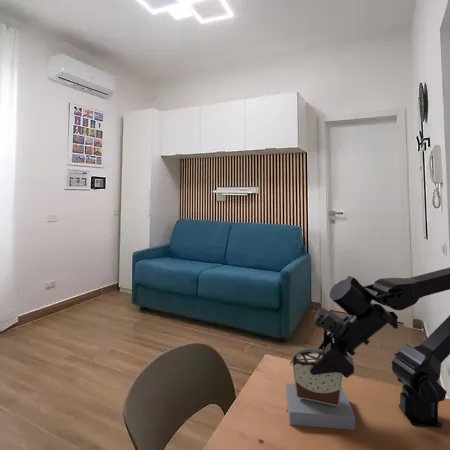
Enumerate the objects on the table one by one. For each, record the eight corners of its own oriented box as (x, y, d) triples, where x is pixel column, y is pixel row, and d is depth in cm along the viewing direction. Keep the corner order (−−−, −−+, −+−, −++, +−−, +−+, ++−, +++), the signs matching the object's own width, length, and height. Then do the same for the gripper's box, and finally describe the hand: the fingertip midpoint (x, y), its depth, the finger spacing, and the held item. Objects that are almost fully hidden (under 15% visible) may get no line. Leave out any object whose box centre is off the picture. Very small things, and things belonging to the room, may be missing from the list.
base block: (341, 398, 76) (341, 387, 75) (355, 429, 65) (355, 416, 65) (286, 395, 77) (286, 383, 77) (289, 424, 66) (289, 412, 66)
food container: (346, 390, 72) (346, 351, 71) (346, 408, 66) (346, 366, 65) (294, 380, 77) (293, 344, 75) (290, 396, 71) (289, 357, 70)
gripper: (334, 288, 77) (291, 325, 81) (335, 311, 60) (281, 357, 64) (367, 321, 75) (322, 357, 79) (379, 355, 57) (320, 400, 62)
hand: (312, 365), depth 71 cm, fingers closed on food container, 6 cm apart
